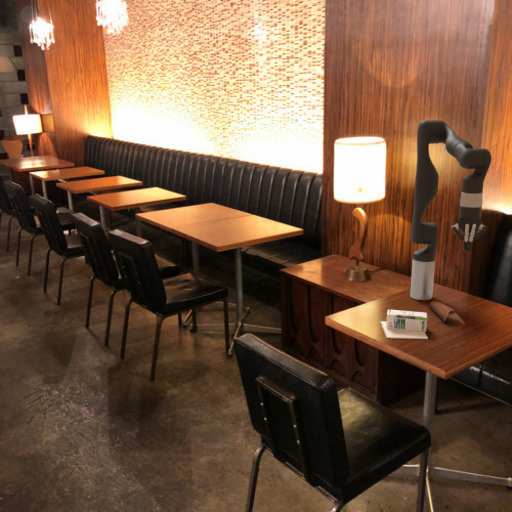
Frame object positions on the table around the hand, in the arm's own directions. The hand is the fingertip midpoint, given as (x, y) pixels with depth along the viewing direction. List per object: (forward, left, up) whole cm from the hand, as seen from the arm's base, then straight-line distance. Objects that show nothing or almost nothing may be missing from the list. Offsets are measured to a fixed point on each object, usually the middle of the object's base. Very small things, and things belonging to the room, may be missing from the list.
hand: (466, 250), depth 200 cm
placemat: (+8, -23, -29) cm, 38 cm away
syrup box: (+7, -14, -26) cm, 30 cm away
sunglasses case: (-8, -3, -30) cm, 31 cm away
